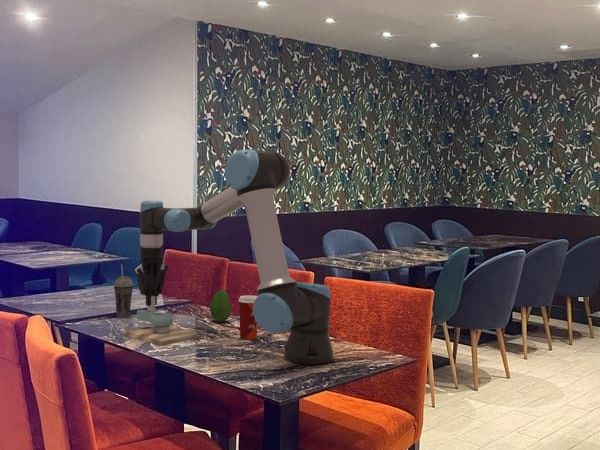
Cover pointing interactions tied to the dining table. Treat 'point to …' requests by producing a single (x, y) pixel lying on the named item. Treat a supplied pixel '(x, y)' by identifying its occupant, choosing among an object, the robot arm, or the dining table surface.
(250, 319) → the paper cup
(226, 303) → the avocado
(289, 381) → the dining table surface
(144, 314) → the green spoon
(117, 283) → the beverage cup
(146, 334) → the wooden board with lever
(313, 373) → the dining table surface
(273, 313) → the robot arm
